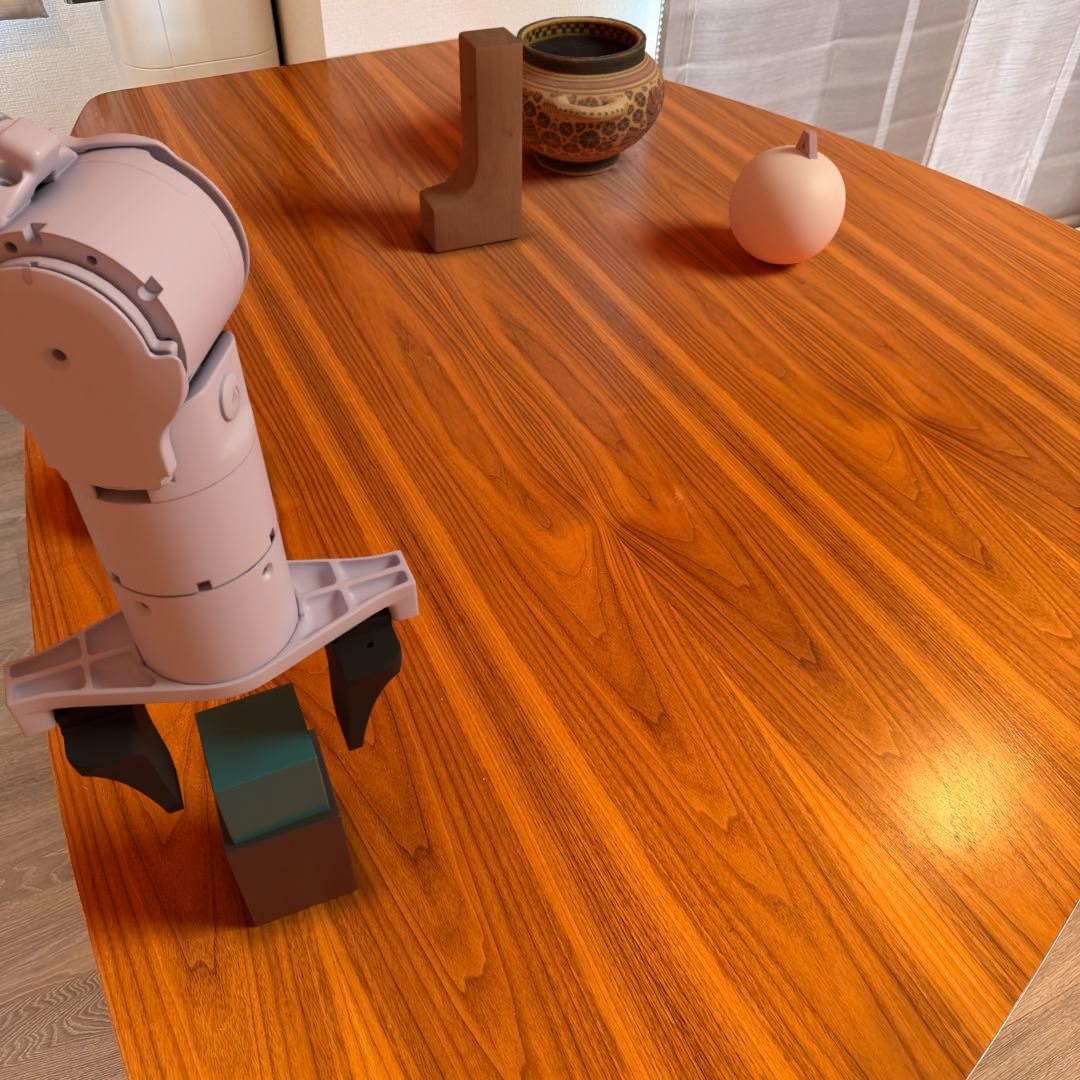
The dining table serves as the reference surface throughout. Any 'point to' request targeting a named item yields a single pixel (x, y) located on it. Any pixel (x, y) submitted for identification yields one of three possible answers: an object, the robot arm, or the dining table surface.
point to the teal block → (261, 762)
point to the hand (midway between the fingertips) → (263, 761)
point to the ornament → (787, 202)
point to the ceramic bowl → (586, 91)
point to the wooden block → (482, 149)
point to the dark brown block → (293, 860)
